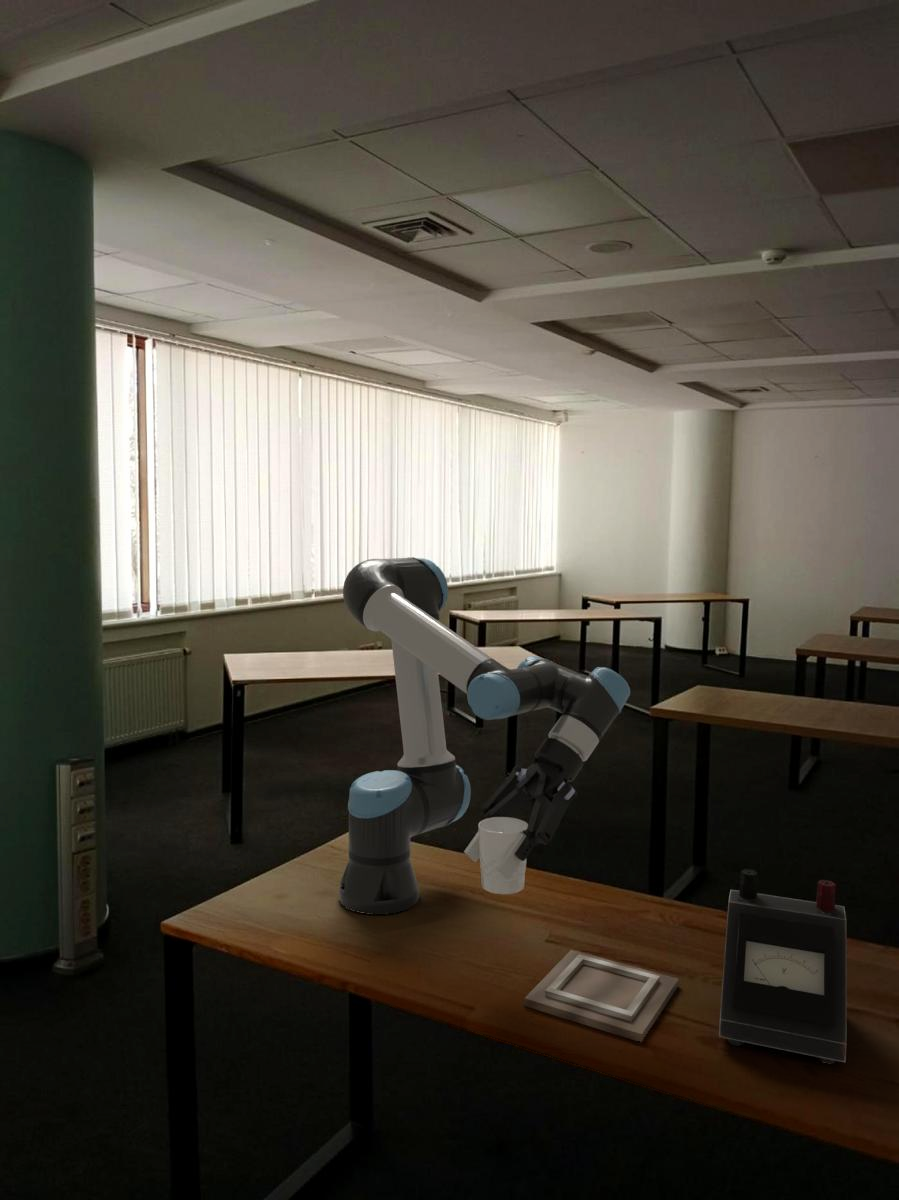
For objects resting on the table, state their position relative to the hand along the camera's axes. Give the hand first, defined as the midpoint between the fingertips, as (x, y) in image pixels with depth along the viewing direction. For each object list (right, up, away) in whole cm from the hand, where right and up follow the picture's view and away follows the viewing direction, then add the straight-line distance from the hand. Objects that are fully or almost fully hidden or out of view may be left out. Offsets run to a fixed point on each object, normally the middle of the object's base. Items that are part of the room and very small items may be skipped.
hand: (486, 865), depth 142 cm
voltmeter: (+42, -20, -11) cm, 48 cm away
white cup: (+3, -4, +2) cm, 6 cm away
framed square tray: (+18, -19, -3) cm, 26 cm away
